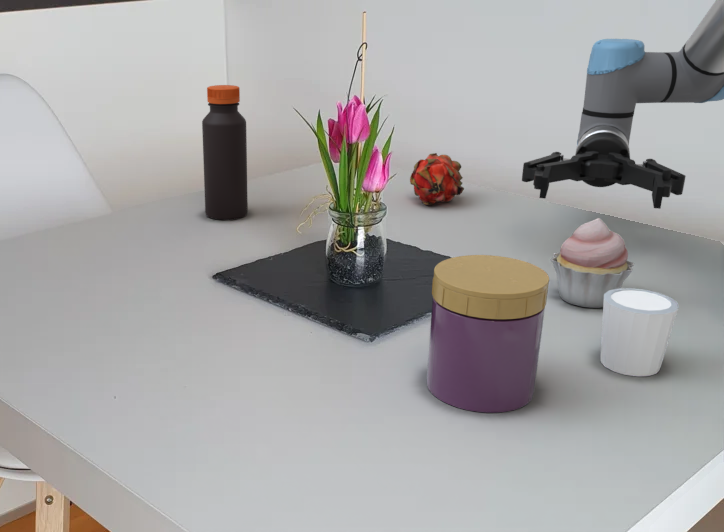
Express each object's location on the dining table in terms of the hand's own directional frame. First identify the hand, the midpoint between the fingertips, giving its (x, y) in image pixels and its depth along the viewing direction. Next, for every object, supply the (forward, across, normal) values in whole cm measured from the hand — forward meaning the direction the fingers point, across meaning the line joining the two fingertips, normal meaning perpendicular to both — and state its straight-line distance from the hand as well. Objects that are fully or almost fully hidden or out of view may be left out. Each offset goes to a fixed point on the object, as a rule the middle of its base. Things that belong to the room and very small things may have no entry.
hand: (600, 192), depth 105 cm
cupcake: (+10, 0, -11) cm, 15 cm away
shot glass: (+27, -5, -11) cm, 29 cm away
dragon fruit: (-27, +25, -11) cm, 39 cm away
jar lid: (+37, +9, +1) cm, 38 cm away
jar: (+37, +9, -10) cm, 39 cm away
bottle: (-8, +55, -11) cm, 57 cm away
